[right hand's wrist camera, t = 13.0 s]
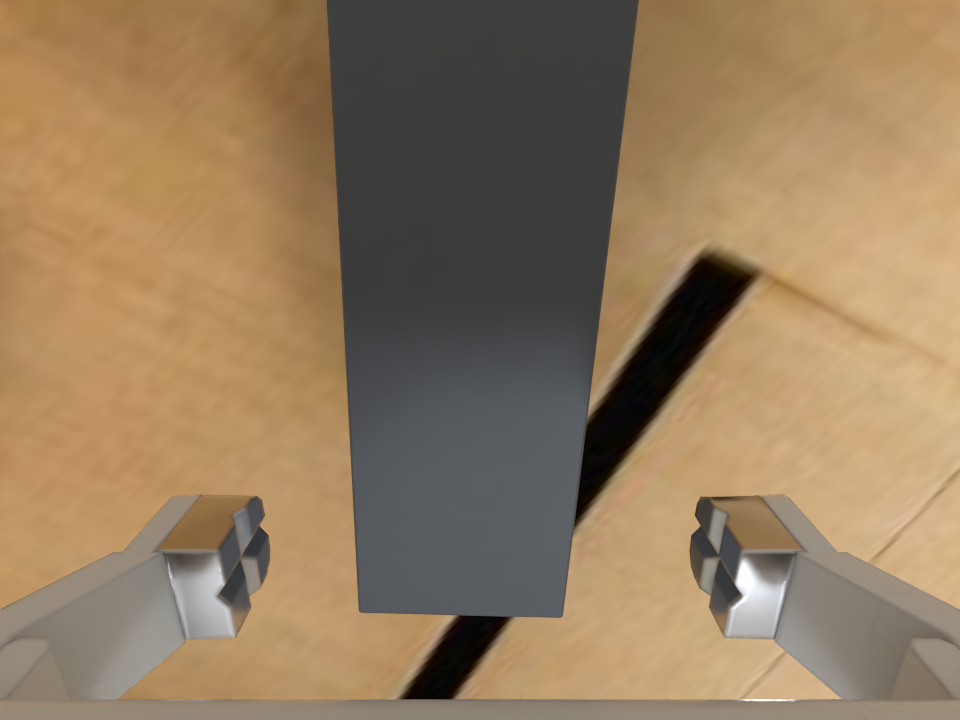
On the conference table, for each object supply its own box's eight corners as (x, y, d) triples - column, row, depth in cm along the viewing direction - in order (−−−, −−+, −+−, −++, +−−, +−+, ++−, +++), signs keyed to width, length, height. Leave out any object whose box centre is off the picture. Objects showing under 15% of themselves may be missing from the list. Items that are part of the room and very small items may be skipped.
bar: (531, 442, 23) (563, 619, 14) (402, 438, 23) (358, 614, 14) (608, -479, 14) (827, -1512, 5) (390, -493, 13) (242, -1571, 5)
